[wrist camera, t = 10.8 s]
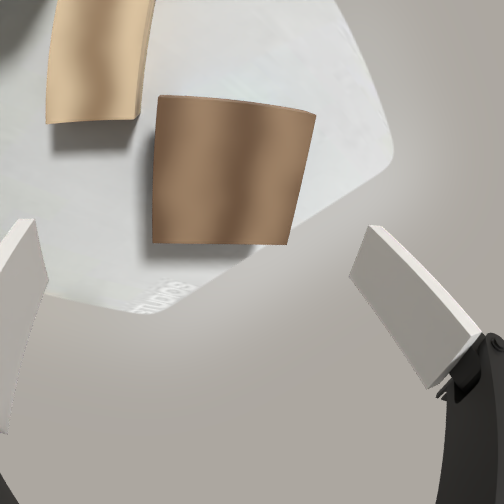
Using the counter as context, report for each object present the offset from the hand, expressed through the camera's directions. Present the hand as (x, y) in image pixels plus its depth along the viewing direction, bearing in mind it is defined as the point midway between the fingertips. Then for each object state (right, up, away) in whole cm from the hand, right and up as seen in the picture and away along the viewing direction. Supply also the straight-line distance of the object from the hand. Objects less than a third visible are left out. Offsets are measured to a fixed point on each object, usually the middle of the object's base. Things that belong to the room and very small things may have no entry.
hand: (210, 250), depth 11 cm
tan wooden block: (-11, +18, +8) cm, 23 cm away
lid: (-1, +7, +14) cm, 16 cm away
